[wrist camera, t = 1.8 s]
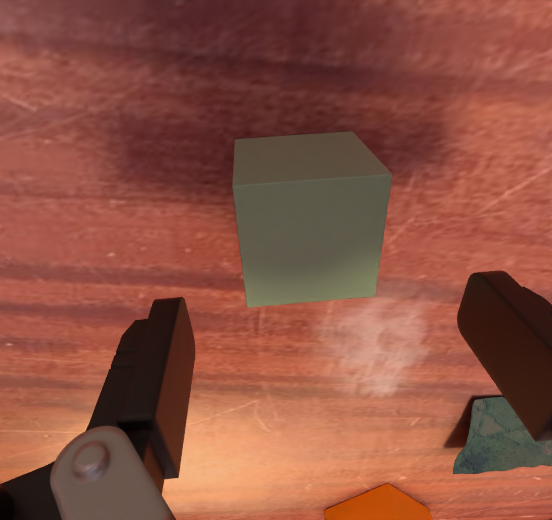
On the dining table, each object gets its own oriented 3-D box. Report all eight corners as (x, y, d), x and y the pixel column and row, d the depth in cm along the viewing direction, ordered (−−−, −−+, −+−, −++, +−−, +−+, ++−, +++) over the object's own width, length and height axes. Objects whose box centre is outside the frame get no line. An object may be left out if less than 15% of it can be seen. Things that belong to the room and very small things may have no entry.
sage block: (234, 138, 15) (231, 185, 11) (352, 130, 15) (392, 174, 11) (245, 240, 18) (247, 308, 14) (345, 232, 18) (375, 297, 14)
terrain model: (440, 453, 31) (451, 475, 30) (471, 393, 27) (485, 416, 26) (575, 446, 33) (592, 467, 31) (624, 388, 29) (646, 409, 27)
